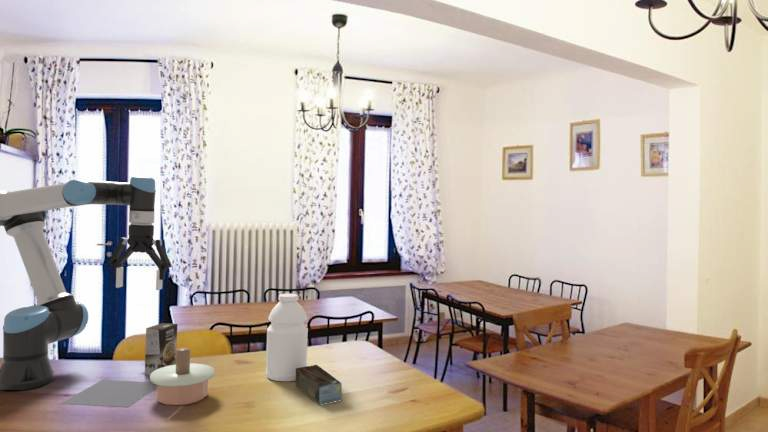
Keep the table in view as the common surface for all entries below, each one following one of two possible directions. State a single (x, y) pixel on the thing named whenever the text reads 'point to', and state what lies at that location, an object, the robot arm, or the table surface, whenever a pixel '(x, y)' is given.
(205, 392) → the bowl
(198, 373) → the lid
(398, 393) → the table surface
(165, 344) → the coffee box
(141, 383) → the mat
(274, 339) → the bottle
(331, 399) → the beverage carton
